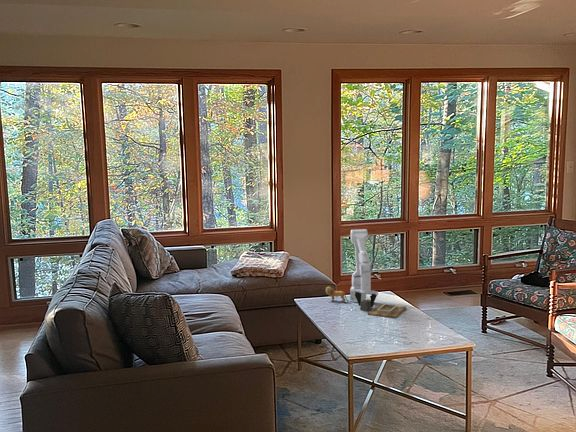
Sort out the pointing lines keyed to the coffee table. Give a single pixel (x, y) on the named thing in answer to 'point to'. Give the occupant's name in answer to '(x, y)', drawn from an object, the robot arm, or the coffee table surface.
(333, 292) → the lion figurine
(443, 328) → the coffee table surface
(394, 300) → the coffee table surface
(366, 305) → the servo block
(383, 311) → the pocket plate
